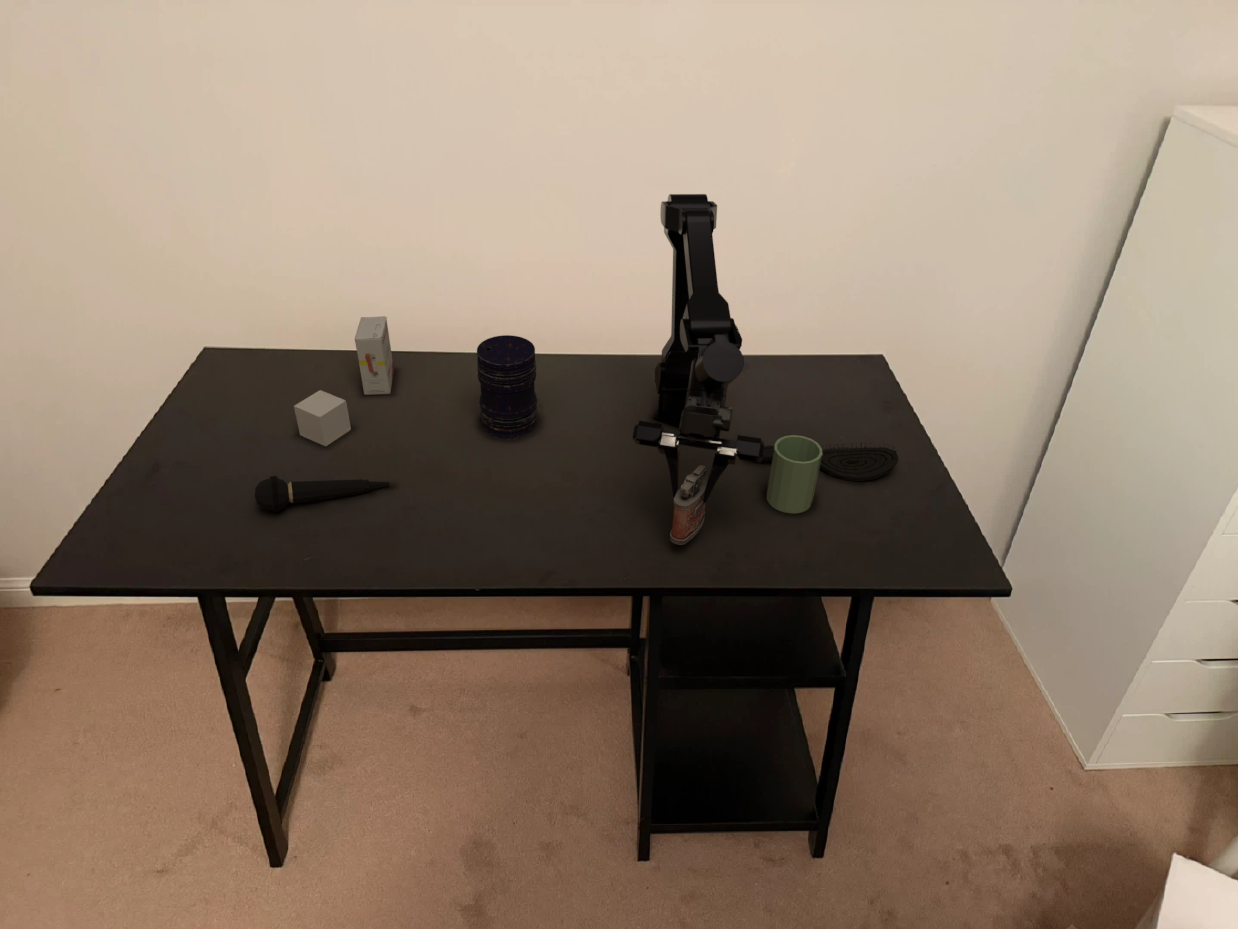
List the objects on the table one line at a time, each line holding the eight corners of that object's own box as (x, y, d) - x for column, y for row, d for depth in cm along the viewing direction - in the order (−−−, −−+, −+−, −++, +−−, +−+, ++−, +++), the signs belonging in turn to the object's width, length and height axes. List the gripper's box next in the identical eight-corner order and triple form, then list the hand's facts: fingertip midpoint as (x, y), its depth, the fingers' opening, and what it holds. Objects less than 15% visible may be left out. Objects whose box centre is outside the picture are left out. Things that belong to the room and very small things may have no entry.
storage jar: (538, 408, 167) (537, 335, 158) (536, 440, 160) (534, 365, 150) (483, 407, 167) (478, 334, 158) (478, 439, 159) (472, 364, 150)
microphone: (387, 495, 151) (255, 507, 144) (385, 461, 149) (252, 472, 142) (392, 506, 146) (256, 519, 139) (391, 472, 144) (253, 483, 137)
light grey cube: (325, 418, 163) (320, 389, 159) (351, 429, 160) (346, 400, 157) (299, 435, 158) (293, 405, 155) (325, 446, 156) (319, 417, 152)
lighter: (685, 548, 135) (691, 495, 129) (664, 539, 136) (669, 486, 130) (709, 517, 141) (716, 465, 135) (689, 509, 142) (695, 457, 136)
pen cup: (759, 503, 148) (767, 453, 142) (776, 479, 153) (784, 430, 147) (802, 519, 145) (812, 468, 139) (818, 494, 150) (828, 444, 144)
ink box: (368, 370, 176) (359, 315, 168) (394, 370, 176) (387, 314, 169) (362, 395, 169) (353, 338, 162) (390, 395, 169) (382, 338, 162)
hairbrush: (746, 430, 159) (895, 436, 157) (745, 447, 161) (892, 454, 159) (746, 459, 152) (902, 466, 150) (745, 476, 155) (898, 484, 152)
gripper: (638, 373, 129) (619, 483, 127) (772, 392, 126) (755, 505, 124) (645, 390, 140) (628, 492, 138) (769, 408, 137) (753, 512, 135)
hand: (689, 500), depth 133 cm, fingers closed on lighter, 4 cm apart
